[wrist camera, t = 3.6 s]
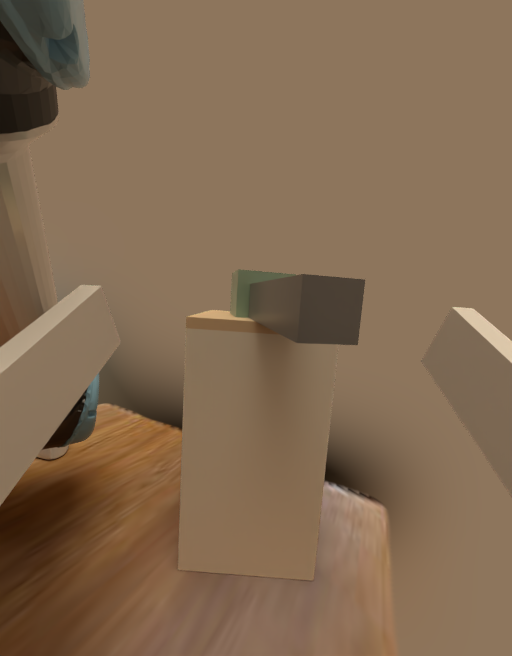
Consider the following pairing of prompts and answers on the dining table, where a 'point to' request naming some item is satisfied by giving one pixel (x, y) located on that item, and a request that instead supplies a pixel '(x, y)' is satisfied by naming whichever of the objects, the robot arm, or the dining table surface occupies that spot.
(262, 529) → the pedestal
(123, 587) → the dining table surface
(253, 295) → the bar
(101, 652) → the dining table surface
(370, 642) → the dining table surface
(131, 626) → the dining table surface
